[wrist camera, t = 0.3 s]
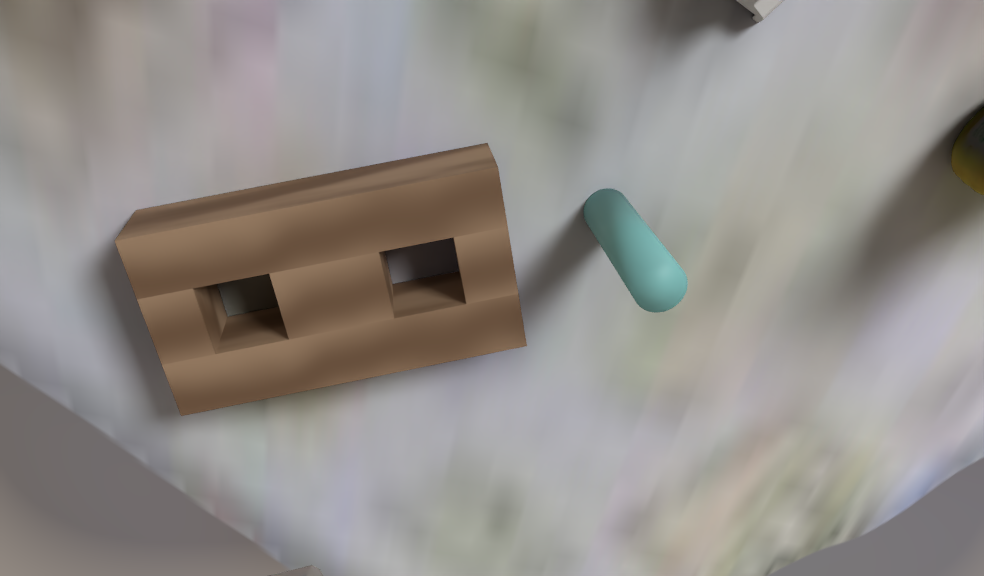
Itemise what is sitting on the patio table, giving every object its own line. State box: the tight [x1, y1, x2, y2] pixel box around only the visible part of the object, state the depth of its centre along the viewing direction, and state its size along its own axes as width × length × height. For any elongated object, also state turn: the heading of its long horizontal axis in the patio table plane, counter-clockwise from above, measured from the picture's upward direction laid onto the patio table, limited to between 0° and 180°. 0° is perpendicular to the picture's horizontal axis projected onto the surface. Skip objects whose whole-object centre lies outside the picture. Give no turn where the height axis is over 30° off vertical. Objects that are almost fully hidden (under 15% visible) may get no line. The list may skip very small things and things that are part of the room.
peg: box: [584, 189, 687, 312], centre depth 52 cm, size 3×3×12 cm
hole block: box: [115, 143, 527, 416], centre depth 54 cm, size 12×22×5 cm, turn 99°
